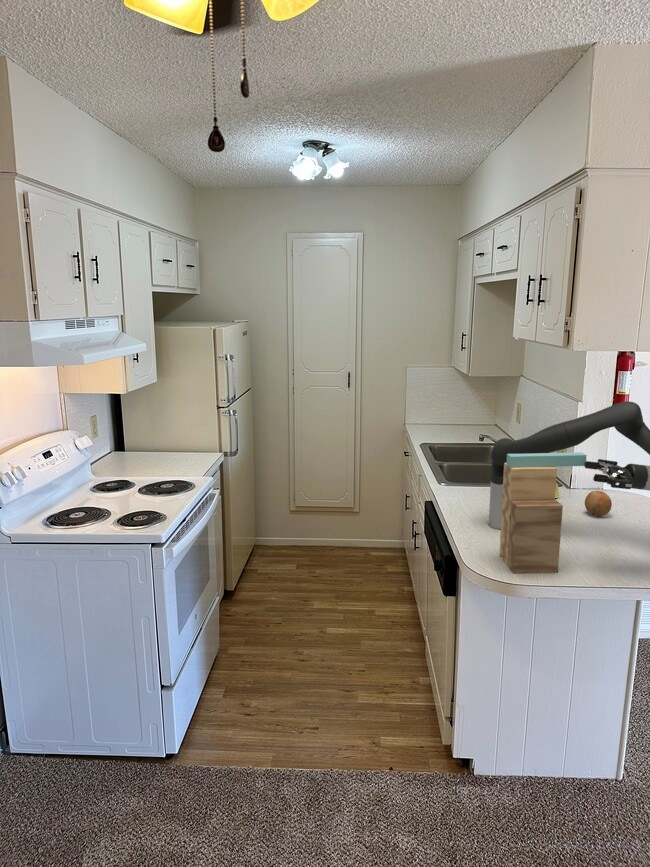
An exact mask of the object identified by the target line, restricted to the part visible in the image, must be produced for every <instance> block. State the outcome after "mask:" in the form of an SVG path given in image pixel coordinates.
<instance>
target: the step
mask: <svg viewBox="0 0 650 867" xmlns="http://www.w3.org/2000/svg"><path fill="white" fill-rule="evenodd" d="M563 506H564V505H563V504H562V503H561V502H559V501H558V500H557V499H555V500H543V501H512V505H511V524H510V542H509V560H508V565H507V567H508V568H509V570H510V569H511V570H510V571H511V573H512V574H545V573H546V574H547V573H548V574H550V573H553V574H555V573H559V564H560V560H559V559H560V549H561V533H562V520H563Z"/></svg>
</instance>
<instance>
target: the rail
mask: <svg viewBox="0 0 650 867" xmlns="http://www.w3.org/2000/svg"><path fill="white" fill-rule="evenodd" d="M586 461H587V454H586V453H583V452H551V453H531V454H507V464H506V465H508V466H509V467H556V468H558V467H584V466H585V462H586Z"/></svg>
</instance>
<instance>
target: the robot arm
mask: <svg viewBox="0 0 650 867" xmlns="http://www.w3.org/2000/svg"><path fill="white" fill-rule="evenodd" d="M610 428H614V429H615V430H616V431H617V432H618V433H619V434H621V435H622V436H624V437H625V438H626V439H628V440H630V441H631V442H633V443H634V444H635V445H637V446H638V447H639V448H641V449H642V450H643V451H644V452H646V454H648V455H649V456H650V428H649V427H648V426H647V424H646V423H645V421H644V419H643V413H642V409H641V407H640V405H639V404H638V403H636V402H634V401H629V400H628V401H622V402H618V403H615V404H612V405H610V406H608V407H605V408H603V409H600V410H598V411H595V412H592V413H589V414H586V415H583V416H580V417H577V418H573V419H570V420H566V421H563V422H559V423H556V424H553V425H550V426H548V427H545V428H543V429H541V430H539V431H537V432H535V433H533V434H532V435H530V436H526V437H523V438H519V439H516V440H512V439H511V438H506V437H504V438H503V437H502V438H501V439H498V440H497V441H495V443H494V444H493V446H492V448H491V451H490V454H491V455H490V456H491V470H490V471H491V472H490V488H489V507H488V509H489V510H488V512H489V513H488V526H489V527H491V528H494V529H496V530H497V529H498V530H501V516H502V496H503V477H504V463H507V454H531V453H556V452H557V451H563V450H566V449H569V448H573V447H575V446H579V445H580V444H582V443H583V442H585V441H586V440H587V439H589V438H590V437H592V436H593V435H595V434H596V433H599V432H600V431H602V430H603V431H604V430H606V429H610ZM583 467H584V468H585V469H589V470H597V471H601V472H602V474H600V473H595V474H594V476H593V478H592V480H593V482H598V483H606V484H607V485H610V487H611V488H613V489H622V490H623V489H625V490H631V489H635V490H643V491H650V465H644V464H639V463H638V464H636V463H628V464H626V465H625V466H624V467H623V466H620V465H618V461H614V460H608V459H601V458H600V459H599V458H598V459H597V462H596V461H590V460H589V461H588V460H586V462H585V466H583Z"/></svg>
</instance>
